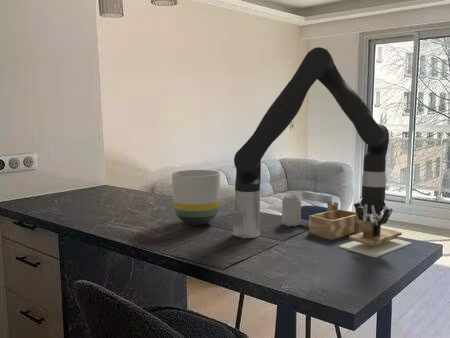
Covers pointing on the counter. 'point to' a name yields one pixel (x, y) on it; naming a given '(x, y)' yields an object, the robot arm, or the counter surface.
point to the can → (291, 210)
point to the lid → (368, 235)
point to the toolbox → (335, 223)
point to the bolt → (317, 197)
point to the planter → (196, 195)
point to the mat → (375, 247)
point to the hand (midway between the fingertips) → (371, 234)
